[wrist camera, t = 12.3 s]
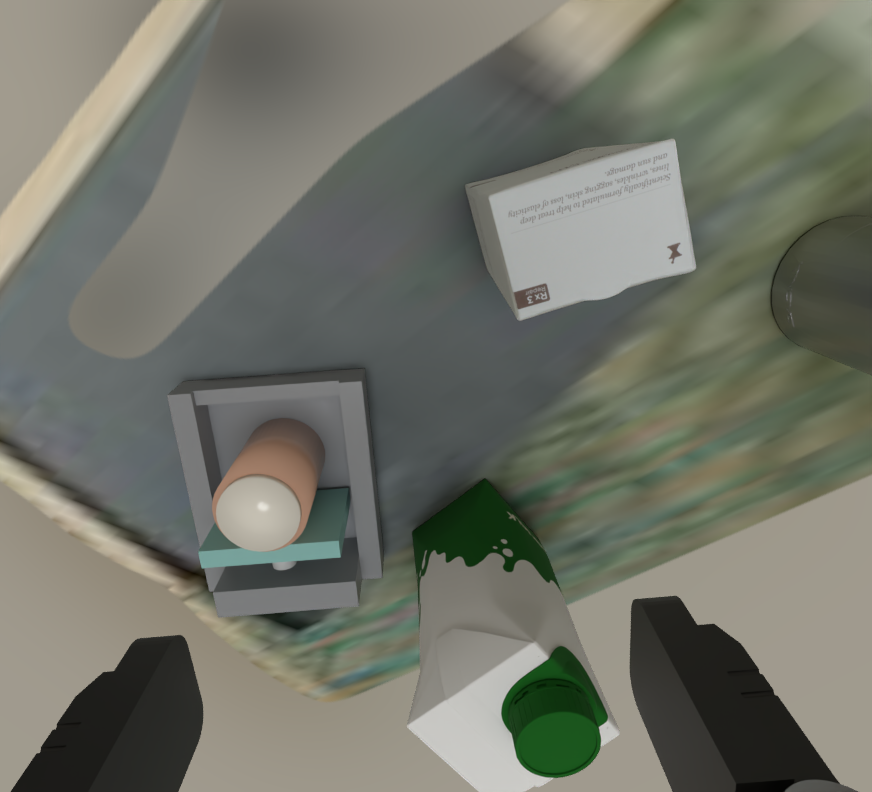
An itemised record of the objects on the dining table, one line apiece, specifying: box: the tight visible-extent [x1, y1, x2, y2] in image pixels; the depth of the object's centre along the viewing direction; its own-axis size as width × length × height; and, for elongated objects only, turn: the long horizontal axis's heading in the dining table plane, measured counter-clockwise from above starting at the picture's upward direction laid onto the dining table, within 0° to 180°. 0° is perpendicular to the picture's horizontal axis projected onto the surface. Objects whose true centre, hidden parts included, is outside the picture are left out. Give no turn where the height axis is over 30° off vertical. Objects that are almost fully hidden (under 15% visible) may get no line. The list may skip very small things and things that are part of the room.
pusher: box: [198, 488, 351, 570], centre depth 41 cm, size 9×3×7 cm, turn 94°
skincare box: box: [465, 139, 696, 321], centre depth 33 cm, size 8×6×15 cm
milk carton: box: [407, 479, 620, 792], centre depth 38 cm, size 9×9×20 cm
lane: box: [167, 368, 384, 617], centre depth 42 cm, size 12×15×6 cm
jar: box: [212, 418, 325, 552], centre depth 40 cm, size 6×6×9 cm
